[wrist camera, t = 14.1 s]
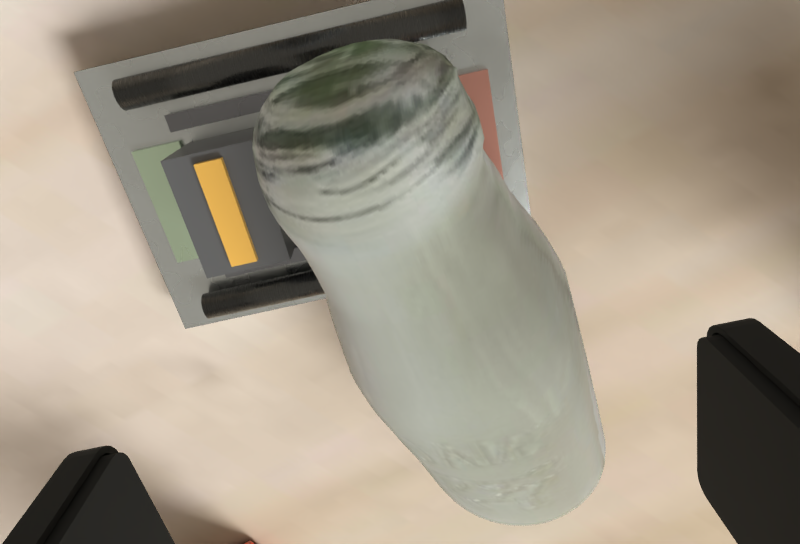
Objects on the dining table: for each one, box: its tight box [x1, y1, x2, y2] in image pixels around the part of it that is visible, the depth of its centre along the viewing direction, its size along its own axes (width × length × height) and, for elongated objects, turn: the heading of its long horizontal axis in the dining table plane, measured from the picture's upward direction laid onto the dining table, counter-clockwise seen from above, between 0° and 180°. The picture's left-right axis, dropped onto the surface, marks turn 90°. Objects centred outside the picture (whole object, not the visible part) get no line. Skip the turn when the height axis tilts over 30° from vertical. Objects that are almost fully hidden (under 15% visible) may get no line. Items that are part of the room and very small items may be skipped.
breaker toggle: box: [160, 128, 295, 278], centre depth 26 cm, size 4×6×4 cm
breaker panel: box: [74, 0, 531, 329], centre depth 29 cm, size 20×14×4 cm
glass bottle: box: [252, 39, 605, 526], centre depth 26 cm, size 10×10×28 cm
